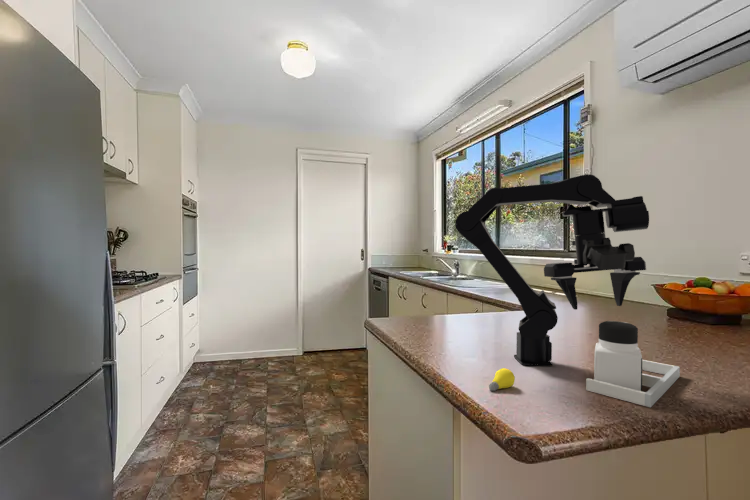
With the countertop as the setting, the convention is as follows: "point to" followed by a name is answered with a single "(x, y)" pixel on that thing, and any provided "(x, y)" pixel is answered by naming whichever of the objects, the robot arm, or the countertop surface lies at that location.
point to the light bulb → (502, 379)
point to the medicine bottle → (618, 355)
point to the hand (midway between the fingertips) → (597, 307)
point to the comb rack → (655, 383)
